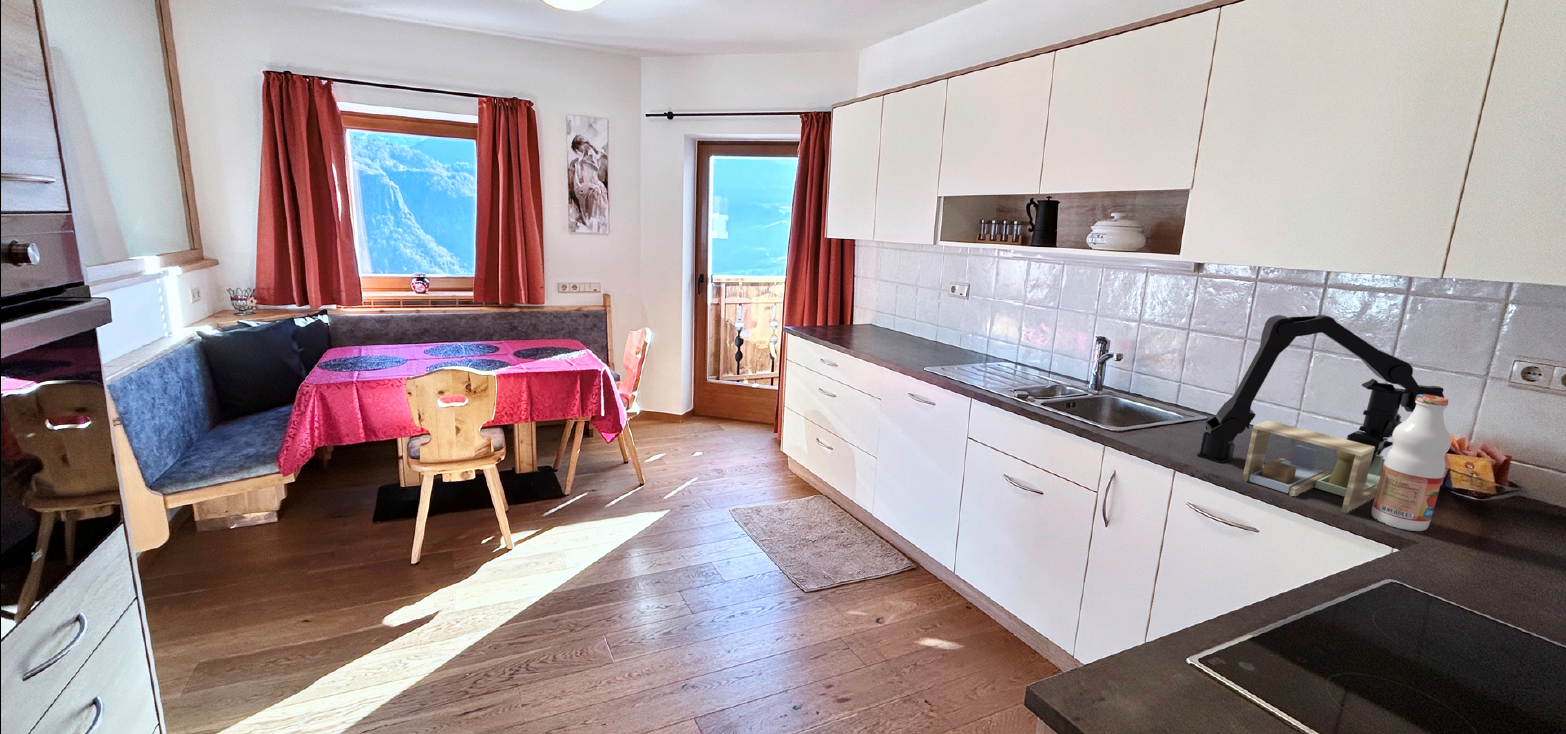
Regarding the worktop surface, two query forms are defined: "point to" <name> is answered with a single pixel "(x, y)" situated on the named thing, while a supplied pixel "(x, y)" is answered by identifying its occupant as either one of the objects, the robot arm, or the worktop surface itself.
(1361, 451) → the board
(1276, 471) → the walnut cube
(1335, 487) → the pale green tray
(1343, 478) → the olive rounded upright piece
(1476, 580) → the worktop surface
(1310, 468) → the blue-grey tray
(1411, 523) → the fruit juice
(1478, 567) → the worktop surface
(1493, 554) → the worktop surface
